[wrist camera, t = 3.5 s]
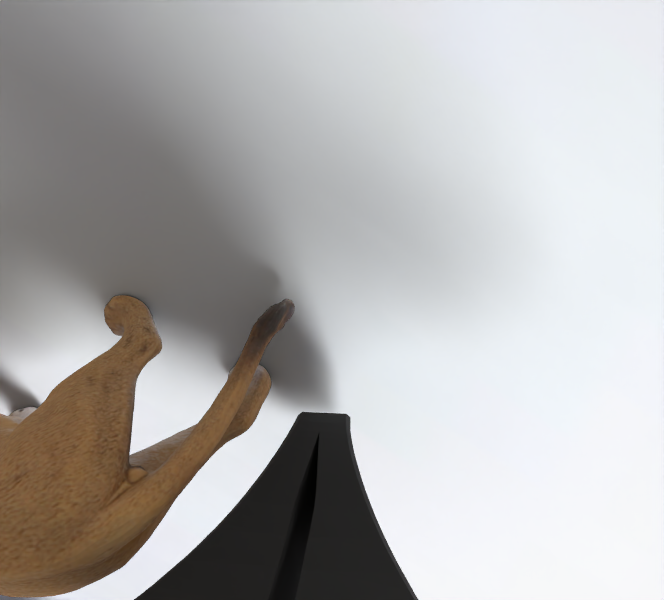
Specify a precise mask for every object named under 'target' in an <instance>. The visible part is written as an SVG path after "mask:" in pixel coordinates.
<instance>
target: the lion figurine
mask: <svg viewBox="0 0 664 600" xmlns="http://www.w3.org/2000/svg"><path fill="white" fill-rule="evenodd" d="M294 308H295V306H294V304H293V302H292V301H291V300H289V299H285V300H283V301H282V302H280V303H278V304H275V305H273V306H271V307H270V308H269V309H267V310H266V312H265V313H264V314H263V315H262V316H261V317H260V318H259V319H258V321H257V322H256V323H255V324H254V326H253V328H252V330H251V333H250V335H249V338H248V340H247V342H246V344H245V346H244V348H243V351H242V353H241V355H240V357H239V359H238V361H237V363H236V365H235V366H234V367H233V368H232V369H231V371H230V372H229V375H228V380H227V382H226V384H225V385H224V387H223V388H222V390H221V391H220V393H219V394H218V396H217V397H216V399H215V401H214V402H213V404H212V405H211V407H210V408H209V410H208V411H207V412H206V414H205V415H204V416H203V417H202V419H201V420H200V421H199V422H198V424H196V425H194V426H192V427H190V428H188V429H186V430H183V431H181V432H179V433H177V434H175V435H173V436H171V437H169V438H167V439H165V440H162V441H160V442H158V443H156V444H154V445H152V446H150V447H148V448H146V449H144V450H141V451H139V452H136V453H134V454H132V455H130V456H129V452H130V443H131V432H132V420H133V411H134V399H135V387H136V381H137V378H138V375H139V374H140V372H141V370H142V369H143V367H144V366H145V365H146V364H147V363H148V362H149V361H150V360H151V359H153V358H154V357H155V356H156V355H157V354H159V353H160V351H161V349H162V342H161V338H160V336H159V334H158V332H157V329H156V327H155V324H154V321H153V318H152V315H151V313H150V311H149V309H148V308H147V306H146V305H145V304H144V303H143V302H141V301H140V300H138V299H136V298H133V297H130V296H125V295H119V296H114V297H113V298H112V299H111V300H110V301H109V303H108V304H107V305H106V306H105V309H104V315H105V322H106V324H107V325H108V327H109V328H110V329H111V331H112V332H113V333H114V334H116V335H119V336H122V338H121V339H120V340H119V341H118V342H117V343H116V344H115V345H114V346H113V347H112V348H111V349H110V350H108V351H106V352H105V353H103V354H101V355H100V356H98V357H97V358H95V359H94V360H92V361H91V362H89V363H88V364H86V365H85V366H83V367H82V368H80V369H79V370H77V371H76V372H74V373H73V374H72V375H70V376H69V377H67V378H66V379H65V380H63V381H62V382H61V383H60V384H58V385H57V386H56V387H55V388H54V389H53V390H52V391H51V393H50V394H49V396H48V397H47V399H46V400H45V401H44V402H43V403H42V404H41V405H40V406H39V407H38V408H35V407H27V408H23V409H17V410H16V411H14V412H12V413H11V414H10V415H9V416H6V415H3V414H0V595H4V596H9V597H46V596H55V595H60V594H65V593H68V592H72V591H75V590H78V589H80V588H82V587H84V586H87V585H89V584H91V583H93V582H96V581H98V580H100V579H102V578H104V577H105V576H107V575H109V574H111V573H113V572H115V571H116V570H118V569H120V568H121V567H123V566H124V565H125V564H126V563H127V562H128V561H129V560H130V559H131V558H132V557H133V556H134V555H135V554H136V553H137V552H138V550H139V549H140V548H141V547H142V546H143V545H144V544H145V543H146V541H147V540H148V539H149V538H150V536H151V535H152V533H153V532H154V530H155V529H156V528H157V526H158V525H159V523H160V522H161V521H162V519H163V518H164V516H165V515H166V513H167V512H168V510H169V508H170V507H171V505H172V504H173V502H174V501H175V499H176V498H177V497H178V495H179V494H180V493H181V492H182V491H183V489H184V488H185V487H186V486H187V485H188V483H189V482H190V481H191V480H192V478H193V477H194V476H195V474H196V473H197V472H198V471H199V470H200V469H201V467H202V466H203V465H204V464H205V463H206V462H207V461H208V460H209V458H210V457H211V456H212V455H213V454H214V453H215V452H216V451H217V450H218V449H219V448H221V447H222V446H223V445H224V444H225V443H227V442H228V441H230V440H232V439H233V438H235V437H237V436H239V435H241V434H242V433H244V432H245V431H247V430H248V429H249V428H250V426H251V425H252V424H253V422H254V421H255V419H256V417H257V415H258V413H259V411H260V408H261V406H262V404H263V402H264V401H265V399H266V397H267V395H268V393H269V390H270V388H271V379H270V376H269V374H268V372H267V371H266V369H265V368H264V367H263V366H261V365H259V362H260V360H261V358H262V355H263V353H264V350H265V348H266V346H267V345H268V344H269V342H270V341H271V339H272V337H273V336H274V335H275V334H276V333H277V332H278V331H279V330H281V329H282V328H283V327H284V325H285V323H286V322H287V321H288V320H289V319H290V318H291V316H292V314H293V312H294Z"/></svg>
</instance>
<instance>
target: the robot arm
mask: <svg viewBox="0 0 664 600" xmlns="http://www.w3.org/2000/svg"><path fill="white" fill-rule="evenodd" d="M134 600H418V598H417V597H416V595H415V594H414V592H413V590H412V588H411V586H410V585H409V583H408V581H407V579H406V577H405V576H404V574H403V572H402V570H401V568H400V567H399V565H398V563H397V561H396V559H395V557H394V555H393V553H392V551H391V549H390V547H389V545H388V543H387V541H386V539H385V537H384V535H383V533H382V530H381V528H380V526H379V524H378V521H377V519H376V517H375V514H374V512H373V509H372V507H371V504H370V502H369V499H368V496H367V493H366V491H365V488H364V485H363V482H362V479H361V476H360V472H359V469H358V465H357V462H356V458H355V454H354V450H353V445H352V439H351V432H350V417H349V416H348V415H347V414H336V413H313V412H302V413H300V414H299V415H298V417H297V419H296V421H295V423H294V424H293V426H292V428H291V430H290V431H289V433H288V435H287V437H286V438H285V440H284V441H283V443H282V444H281V446H280V448H279V449H278V451H277V452H276V454H275V455H274V456H273V458H272V459H271V461H270V462H269V464H268V465H267V467H266V468H265V469H264V471H263V472H262V474H261V475H260V476H259V477H258V479H257V480H256V481H255V483H254V484H253V485H252V486H251V488H250V489H249V490H248V492H247V493H246V494H245V495H244V497H243V498H242V499H241V500H240V501H239V503H238V504H237V505H236V506H235V507H234V508H233V509H232V511H231V512H230V513H229V514H228V515H227V516H226V517H225V518H224V519H223V520H222V522H221V523H220V524H219V525H218V526H217V527H216V528H215V529H214V530H213V531H212V532H211V533H210V534H209V535H208V536H207V537H206V538H205V539H204V540H203V541H202V542H201V543H200V544H199V545H198V546H197V547H196V548H195V549H194V550H192V551H191V552H190V553H189V554H188V555H187V556H186V557H185V558H184V559H183V560H181V561H180V562H179V563H178V564H177V565H176V566H174V567H173V568H172V569H171V570H170V571H169V572H167V573H166V574H165V575H164V576H163V577H162V578H160V579H159V580H158V581H157V582H156V583H155V584H153V585H152V586H151V587H150V588H148V589H147V590H146V591H145V592H143V593H142V594H141V595H140V596H138V597H137V598H136V599H134Z"/></svg>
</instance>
